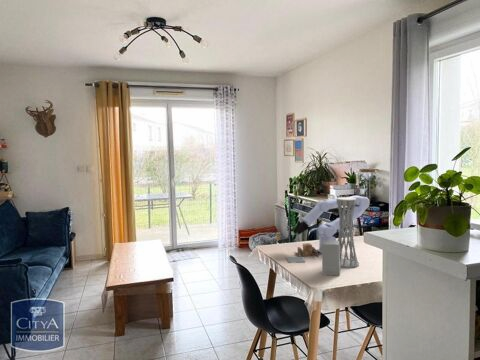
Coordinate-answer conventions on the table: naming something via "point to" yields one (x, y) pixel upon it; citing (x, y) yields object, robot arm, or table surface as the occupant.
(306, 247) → the oak block
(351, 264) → the vase
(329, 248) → the skincare box
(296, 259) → the slate mat
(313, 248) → the shelf slot
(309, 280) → the table surface
